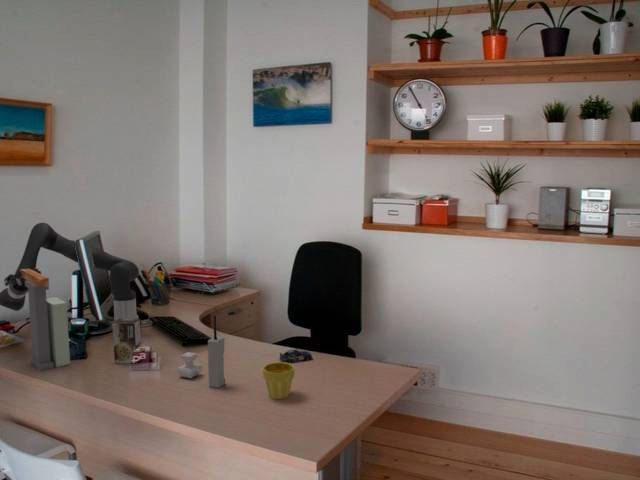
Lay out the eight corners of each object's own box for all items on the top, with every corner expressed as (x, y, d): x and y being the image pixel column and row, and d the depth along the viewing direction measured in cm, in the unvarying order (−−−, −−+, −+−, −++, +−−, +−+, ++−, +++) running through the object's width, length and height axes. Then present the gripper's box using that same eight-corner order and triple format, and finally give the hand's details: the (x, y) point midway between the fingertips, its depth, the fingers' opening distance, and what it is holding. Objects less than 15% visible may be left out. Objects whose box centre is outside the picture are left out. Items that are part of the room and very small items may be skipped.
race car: (309, 355, 247) (309, 344, 246) (318, 360, 241) (318, 349, 240) (276, 361, 239) (276, 350, 239) (283, 367, 234) (283, 355, 233)
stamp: (205, 375, 223) (204, 353, 222) (194, 381, 217) (193, 358, 216) (185, 371, 227) (185, 349, 226) (173, 377, 221) (173, 354, 220)
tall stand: (43, 359, 240) (38, 279, 235) (53, 367, 231) (48, 284, 226) (30, 362, 237) (24, 280, 232) (39, 370, 228) (34, 286, 223)
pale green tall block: (59, 356, 244) (56, 297, 240) (70, 364, 235) (66, 302, 231) (46, 358, 241) (42, 299, 237) (56, 367, 232) (52, 304, 228)
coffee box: (143, 358, 241) (141, 318, 239) (136, 364, 235) (135, 323, 233) (120, 357, 242) (118, 318, 240) (113, 363, 236) (111, 322, 233)
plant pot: (282, 404, 198) (282, 374, 196) (257, 397, 203) (256, 368, 202) (300, 393, 207) (300, 365, 205) (275, 387, 212) (275, 359, 211)
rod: (29, 276, 241) (29, 268, 240) (49, 286, 223) (48, 278, 222) (21, 277, 239) (20, 269, 238) (40, 287, 221) (39, 279, 220)
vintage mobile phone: (225, 383, 215) (224, 314, 212) (218, 388, 211) (217, 317, 207) (215, 382, 217) (214, 313, 213) (208, 387, 212) (207, 316, 208)
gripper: (-2, 280, 244) (6, 264, 232) (36, 275, 254) (46, 260, 241) (1, 298, 243) (10, 282, 230) (40, 292, 252) (50, 277, 239)
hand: (28, 271), depth 236 cm, fingers open, 5 cm apart
